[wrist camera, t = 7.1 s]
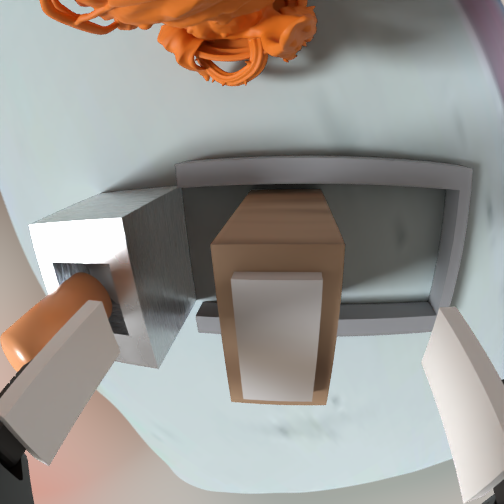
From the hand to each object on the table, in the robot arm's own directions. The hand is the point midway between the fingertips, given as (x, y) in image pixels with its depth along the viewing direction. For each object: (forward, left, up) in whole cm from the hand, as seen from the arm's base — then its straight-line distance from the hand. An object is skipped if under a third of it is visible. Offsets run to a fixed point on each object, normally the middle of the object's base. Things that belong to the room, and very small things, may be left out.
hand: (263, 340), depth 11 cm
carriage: (+1, 0, -11) cm, 11 cm away
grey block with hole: (+1, -10, -11) cm, 15 cm away
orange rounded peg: (+1, -10, -3) cm, 11 cm away
